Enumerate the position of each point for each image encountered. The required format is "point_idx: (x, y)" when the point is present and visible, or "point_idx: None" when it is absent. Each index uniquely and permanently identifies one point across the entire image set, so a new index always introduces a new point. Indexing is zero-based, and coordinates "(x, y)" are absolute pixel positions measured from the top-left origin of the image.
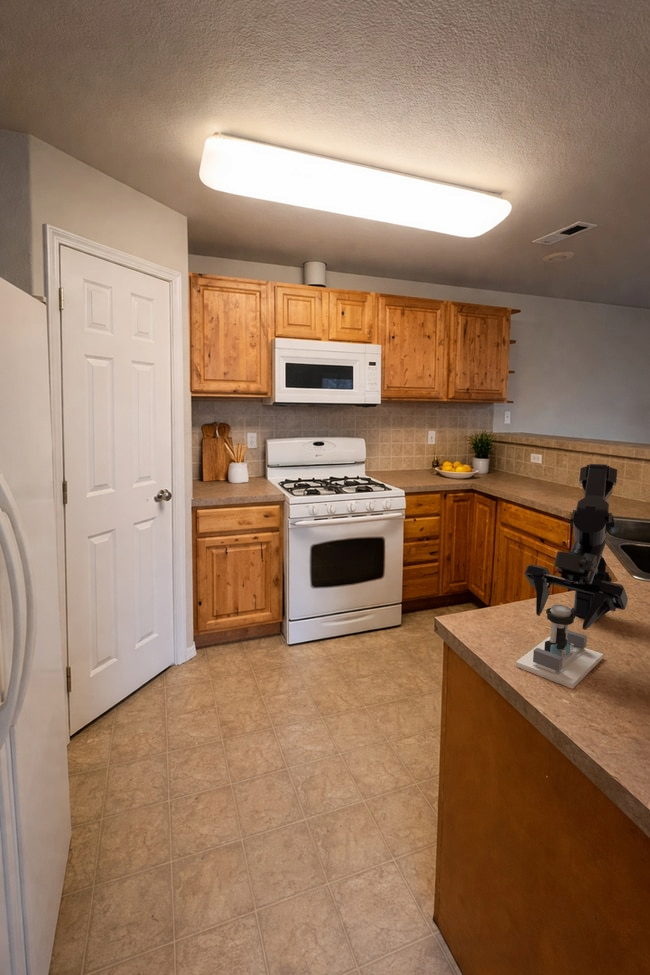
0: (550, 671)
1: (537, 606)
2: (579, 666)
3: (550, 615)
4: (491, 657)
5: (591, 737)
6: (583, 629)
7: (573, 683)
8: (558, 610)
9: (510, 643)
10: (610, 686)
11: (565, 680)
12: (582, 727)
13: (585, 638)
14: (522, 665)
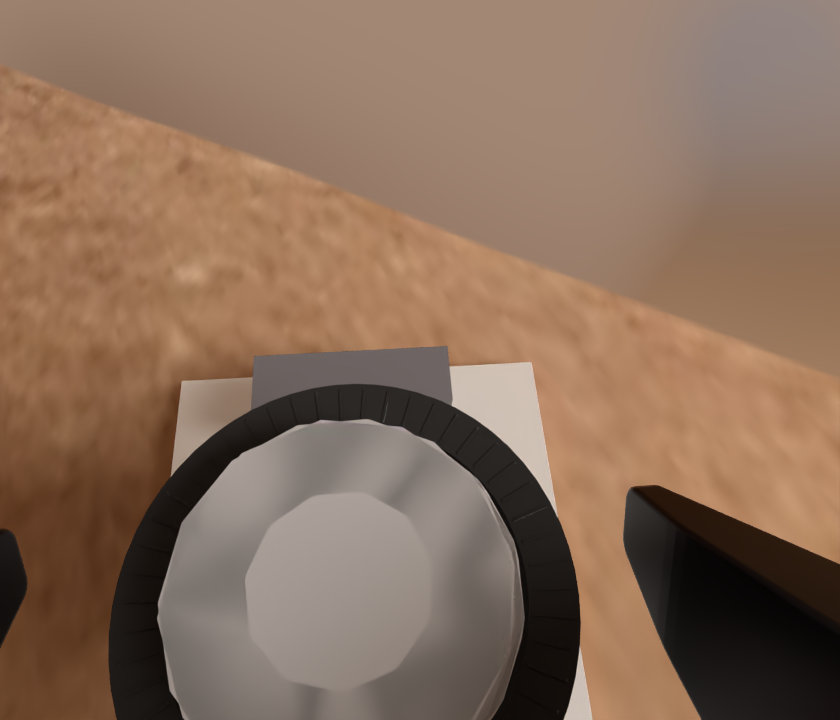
0: None
1: (720, 522)
2: None
3: (418, 397)
4: (675, 362)
5: (39, 139)
6: (22, 573)
7: (181, 388)
8: (329, 447)
9: None
10: None
11: (227, 384)
12: (80, 166)
13: None
14: (487, 367)
